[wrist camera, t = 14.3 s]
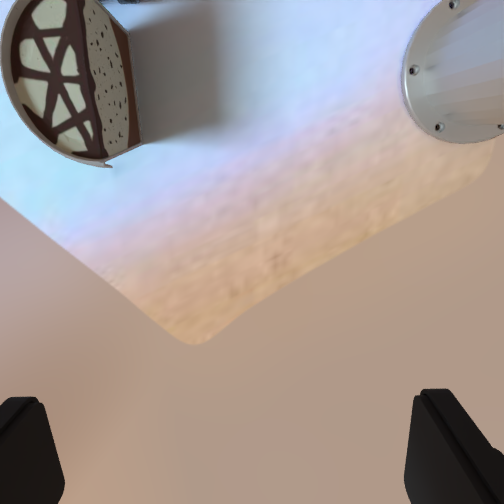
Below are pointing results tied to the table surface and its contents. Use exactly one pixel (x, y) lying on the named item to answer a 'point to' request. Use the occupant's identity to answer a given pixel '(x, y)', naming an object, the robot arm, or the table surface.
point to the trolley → (128, 1)
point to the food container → (72, 78)
